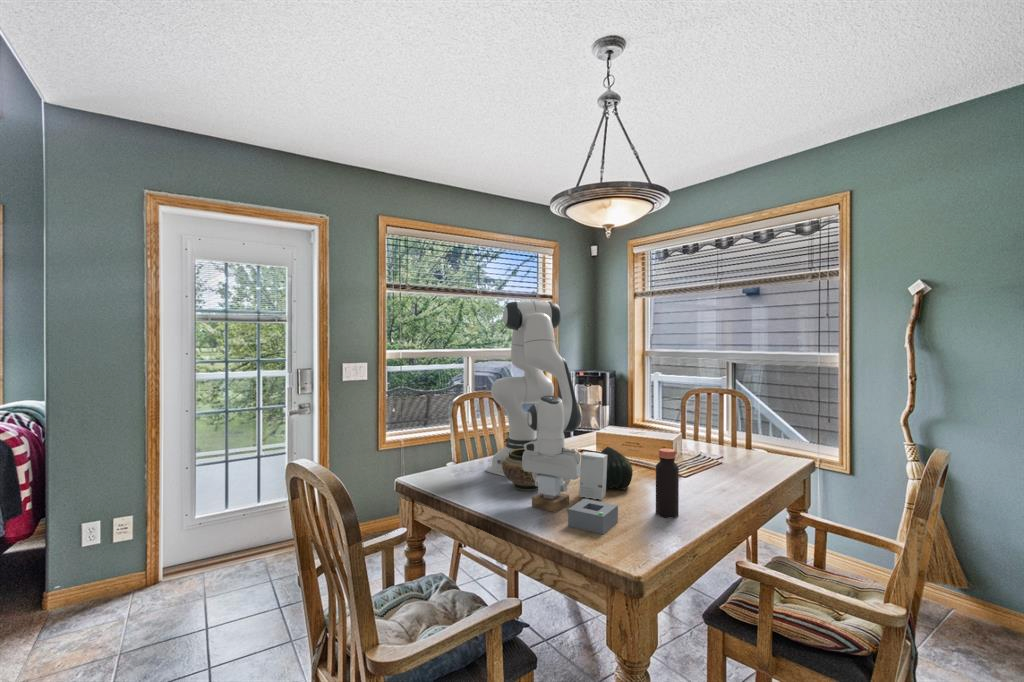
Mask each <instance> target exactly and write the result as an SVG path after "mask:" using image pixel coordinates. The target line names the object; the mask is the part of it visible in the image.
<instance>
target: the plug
mask: <svg viewBox="0 0 1024 682" xmlns="http://www.w3.org/2000/svg"><path fill="white" fill-rule="evenodd" d="M561 485H564V481H563V478H561V477H555V476H550V475H544V474H541V475H539V476H538V489H537V490H538V491H537V493H538V494H540V493H541V494H543V498H548V499H553V500H554V499H556V498H557V497H558V494H559V493H561V494H562V493H563V491H561V490H560V489H561V488H560V486H561Z"/></svg>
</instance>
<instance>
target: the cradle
mask: <svg viewBox="0 0 1024 682" xmlns="http://www.w3.org/2000/svg"><path fill="white" fill-rule="evenodd" d="M568 504H569V505H570V495H569V494H564V493H562V492H561V493H559V494H558V497H557V498H556V499H554V500H553V499H548V498H543V494H541V493H538V494H536V495H535V496H533V497H531V507H532V508H534V507H536V508H535V509H538V508H540V510H543V509H545V510H544V511H548V510H549V512H552V511H553V513H558V512H560V511H562V510H563V509H564V508H566V507H567V506H569V505H568ZM559 510H560V511H559Z"/></svg>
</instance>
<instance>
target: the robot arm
mask: <svg viewBox="0 0 1024 682" xmlns="http://www.w3.org/2000/svg"><path fill="white" fill-rule="evenodd" d="M561 319H562V313H561V308H560V306H559V305H558V303H555V302H552V301H542V300H541V301H540V300H529V301H511V302H508V303H506V304H505V306H504V308H503V311H502V320H503V323H504V326H505V327H506V328H507V329H510V330H512V333H511V334H512V335H511V345H510V346H511V347H510V362H511V364H512V365H513V366H514V367H516V368H518V369H519V370H522V371H523V372H524V375H522V376H505V377H501V378H497V379H495V380H494V382H493V383H492V385H491V390H490V391H491V395H492V396H491V397H492V399H493V400H494V402H496V403H497V404H498V405H499V406H500V407H501V408H502V409H503V410H504V412H505V413H506V417H507V420H508V434H509V436H508V437H507V438H504V440H503V443H505V446H503V448H501V449H500V450H499V451H497V452H495V454H494V455H493V457H492V458H491V465H488V466H486V468H485V471H486V472H487V473H491V474H495V475H498V476H502V477H505V478H507V477H506V476H505V474H504V472H503V469H502V465H503V462H504V460H505V459H506V456H508V455H509V452H510V451H511V450H514V449H521V448H524V450H526V451H524V453H523V457H522V468H523V470H524V471H527V472H532V477H533V479H534V481H535V486H538V474H544V475H550V476H555V477H561V478H563V485H561V486H560V488H561V489H560V490H561V491H563V492H564V493H565V492H567V491H568V485H569V483H570V481H571V480H573V481H575V480H577V479H580V475H581V468H580V467H581V454H580V453H579V451H577V450H576V449H574V448H573V449H570V448H565V434H564V432H567V433H571V432H572V433H574V431H576V430H577V429H578V428H579V427H580V425H581V424H582V414H581V410H580V407H579V404H578V401H577V398H576V394H575V389H574V385H573V381H572V377H571V374H570V369H569V367H568V363H567V361H566V359H565V357H562V356H561V355H560V353H559V351H558V350H557V346H556V339H555V338H556V337H555V336H556V335H555V331H554V329H556V328H557V327H558V326H559V325H560V323H561ZM543 371H544V372H546V373H548V374H550V375H552V376H554V378H555V379H556V380H557V382H558V386H559V391H560V395H561V397H559V396H555V395H554V394H555V386H554V383H553V381H552V380H551V379H550V378H549V377H548V376H546V374H544V372H543ZM524 404H526V405H527V404H528V405H529V404H532V405H531V406H530V407H529V408H527V409H528V410H527V411H526V410H524V408H523V405H524ZM537 432H538V433H537ZM563 492H562V493H563Z"/></svg>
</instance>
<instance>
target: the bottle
mask: <svg viewBox="0 0 1024 682" xmlns="http://www.w3.org/2000/svg"><path fill="white" fill-rule="evenodd" d="M676 453H677V452H676V450H675V449H673V448H663V447H662V448H660V449H659V450H658V458H659V462H657V464H656V465H655V514H656V515H657V516H659V515H660V516H659V517H662V516H663V517H662V518H667V517H673V518H677V517H678V516H679V511H680V510H679V507H680V506H679V500H680V498H679V497H680V496H679V495H680V493H679V490H680V489H679V488H680V487H679V486H680V485H679V482H680V481H679V480H680V479H679V477H680V475H679V473H680V472H679V469H680V468H679V465H677V463H676V461H675V460H676V457H677V456H676ZM676 516H677V517H676Z"/></svg>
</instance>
